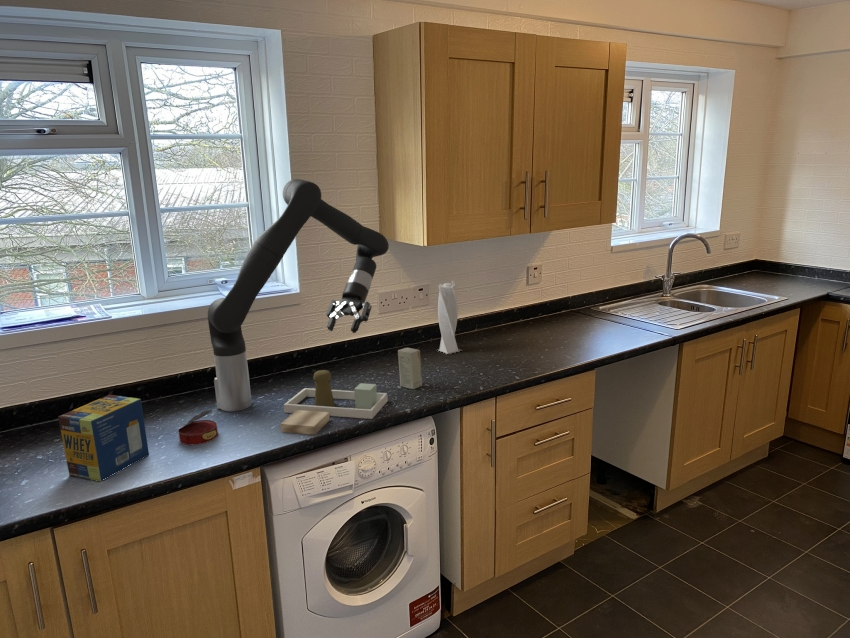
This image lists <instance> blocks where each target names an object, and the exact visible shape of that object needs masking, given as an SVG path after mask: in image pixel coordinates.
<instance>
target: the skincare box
mask: <svg viewBox="0 0 850 638" xmlns="http://www.w3.org/2000/svg"><path fill="white" fill-rule="evenodd" d="M397 357H398V371H399V385H400V387H403V388H407V389H410V390H416V389H418V388H420V387H422V386H423V377H422V362H421V361H422V360H421V350H420V349H416V348H411V347H404V348H401V349H398V350H397Z"/></svg>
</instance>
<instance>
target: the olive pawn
mask: <svg viewBox="0 0 850 638" xmlns="http://www.w3.org/2000/svg"><path fill="white" fill-rule="evenodd" d="M331 380H332V374H331V372H330V371H329V370H326V369H320V370H317V371H315V372H314V373H313V381H314V382H315V388H314V389H315V397H314V406H326V407H336V406H335V405H336V404H335V400H334V399H335V398H333V395H332V390H333V389H332V386H331Z"/></svg>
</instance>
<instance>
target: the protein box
mask: <svg viewBox="0 0 850 638" xmlns="http://www.w3.org/2000/svg"><path fill="white" fill-rule="evenodd" d="M142 404H143V403H142V399H141V398H137V397H129V396H122V395H114V394H108V395H106V396H103V397H101V398H98V399H96V400H93V401H91V402H89V403H87V404H84V405H82V406H80V407H78V408H74V409H73V410H70V411H68V412H66V413H63V414H61V415H58V416H57V417H58V418H57V419H58V422H59V428H60V433H61V439H62V445H63V448H64V454H65V459H66V467H67V470H68V476H70V477H73V476H75V477H74V478H78V477H80V478H79V479H83V478H85V479H84V480H88V479H91V480H90V481H93V480H97V481H96V482H98V481H102V480H103V479H105V478H107V477H109V476H110V475H112V474H114V473H116V472H118V471H120V470H121V471H123V470H124V469H123V468H125V467H127V466H128V465H130V464H132V463H134V462H136V461H137V462H139V461H140V459H141V460H142V458H143V457H144V458H146V457H148V456H149V455H150V452H149V446H148V445H149V444H148V440H147V439H148V438H147V432H146V431H147V430H146V425H145V419H144V414H143V411H144V410H143V406H142ZM147 455H148V456H147ZM145 456H146V457H145ZM144 458H143V459H144ZM138 460H139V461H138ZM137 462H136V463H137ZM134 464H135V463H134ZM132 465H133V464H132ZM130 466H131V465H130ZM128 467H129V466H128ZM128 467H127V468H128ZM122 469H123V470H122ZM125 469H126V468H125ZM121 471H120V472H121ZM118 473H119V472H118ZM116 474H117V473H116ZM114 475H115V474H114ZM109 478H110V477H109ZM107 479H108V478H107ZM105 480H106V479H105ZM102 482H103V481H102Z"/></svg>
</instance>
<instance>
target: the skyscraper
mask: <svg viewBox="0 0 850 638" xmlns="http://www.w3.org/2000/svg"><path fill="white" fill-rule="evenodd" d="M455 287H456V281H455V279H453V280H451V282H445V283H443V284H442V283H439V284H438V290H439V293H438V299H437V300H438V301H437V302H438V303H437V318H438V324H439V330H440V334H441V337H440V344H439V349H437V350H438V351H437V352H439V351H440V352H439V353H441V352H443V353H442V354H444V353H445V354H444V355H447V354H449V355H453V354H452V353H454V354H456V352H458V353H461V352H460V351H462V352H463V349H460V348H458V344H457V340H456V336H455V334H456V331H457V330H456V328H457V324H458V317H459V315H458V312H459V311H458V301H457V297H456V291H455Z"/></svg>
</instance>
